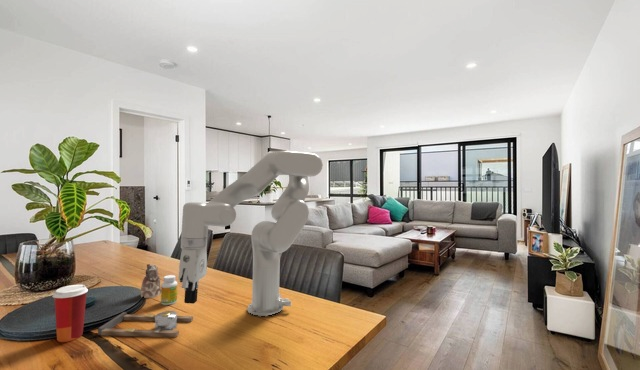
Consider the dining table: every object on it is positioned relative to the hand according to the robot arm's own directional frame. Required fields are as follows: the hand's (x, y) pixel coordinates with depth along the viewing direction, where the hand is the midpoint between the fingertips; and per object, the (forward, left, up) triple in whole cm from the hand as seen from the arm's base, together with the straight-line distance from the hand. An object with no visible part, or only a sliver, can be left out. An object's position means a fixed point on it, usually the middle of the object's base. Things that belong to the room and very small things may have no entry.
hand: (190, 302), depth 91 cm
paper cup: (+32, +6, -9) cm, 33 cm away
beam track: (+13, -1, -8) cm, 15 cm away
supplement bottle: (+17, -20, -9) cm, 27 cm away
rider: (+8, -1, -8) cm, 11 cm away
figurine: (+28, -27, -9) cm, 39 cm away
